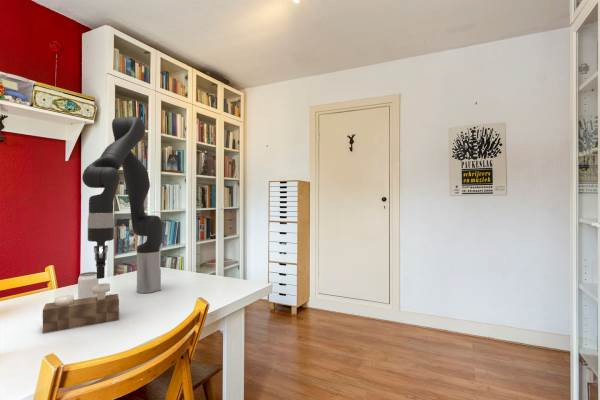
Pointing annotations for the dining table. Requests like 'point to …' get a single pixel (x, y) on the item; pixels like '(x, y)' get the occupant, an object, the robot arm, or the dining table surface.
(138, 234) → the robot arm
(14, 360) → the dining table surface
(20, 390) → the dining table surface
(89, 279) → the can
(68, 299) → the knob
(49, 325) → the mount
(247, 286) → the dining table surface
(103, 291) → the knob
